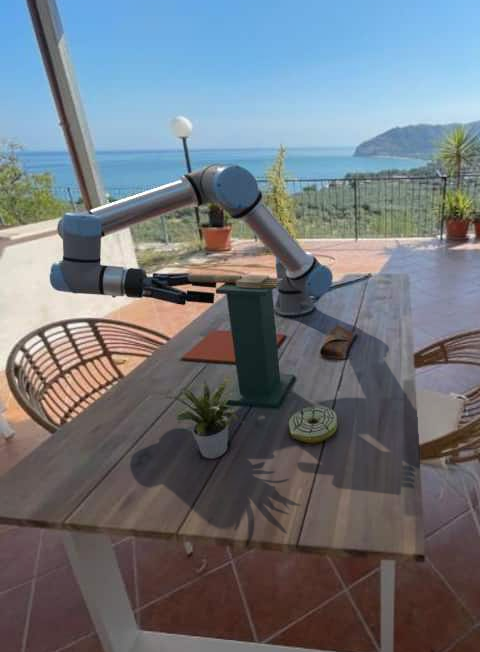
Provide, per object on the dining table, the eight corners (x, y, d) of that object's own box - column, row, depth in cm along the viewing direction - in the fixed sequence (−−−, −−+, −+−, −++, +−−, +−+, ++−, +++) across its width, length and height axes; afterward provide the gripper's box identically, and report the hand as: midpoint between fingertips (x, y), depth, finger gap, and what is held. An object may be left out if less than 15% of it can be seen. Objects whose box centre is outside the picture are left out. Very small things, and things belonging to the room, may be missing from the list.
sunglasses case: (347, 358, 117) (335, 340, 116) (328, 366, 120) (316, 349, 118) (358, 333, 134) (348, 317, 132) (341, 341, 136) (331, 325, 135)
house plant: (170, 488, 72) (153, 416, 67) (171, 441, 84) (157, 376, 78) (248, 465, 78) (239, 396, 72) (239, 424, 90) (230, 362, 84)
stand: (246, 373, 110) (234, 274, 100) (294, 377, 108) (286, 276, 98) (223, 402, 97) (206, 292, 87) (277, 407, 96) (266, 295, 85)
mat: (213, 332, 136) (213, 329, 136) (285, 336, 133) (284, 334, 133) (181, 359, 118) (181, 357, 118) (263, 365, 115) (263, 363, 114)
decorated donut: (293, 415, 93) (292, 402, 91) (338, 415, 92) (338, 402, 91) (285, 446, 83) (284, 431, 81) (336, 446, 83) (335, 431, 81)
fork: (196, 277, 97) (195, 270, 96) (283, 281, 94) (283, 273, 93) (184, 284, 92) (182, 276, 91) (275, 288, 89) (275, 280, 88)
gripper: (137, 282, 111) (216, 289, 118) (113, 313, 89) (211, 319, 96) (138, 256, 109) (218, 265, 116) (113, 282, 87) (214, 291, 94)
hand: (215, 290), depth 106 cm, fingers open, 13 cm apart
